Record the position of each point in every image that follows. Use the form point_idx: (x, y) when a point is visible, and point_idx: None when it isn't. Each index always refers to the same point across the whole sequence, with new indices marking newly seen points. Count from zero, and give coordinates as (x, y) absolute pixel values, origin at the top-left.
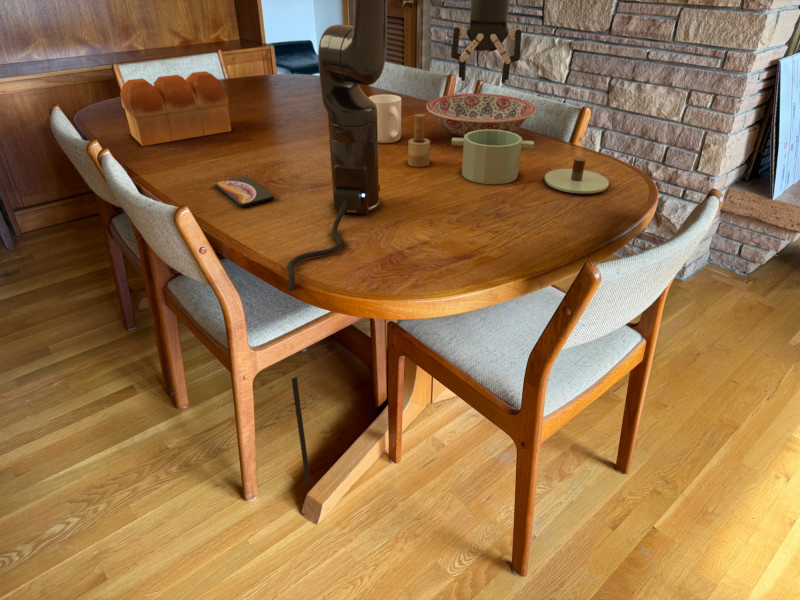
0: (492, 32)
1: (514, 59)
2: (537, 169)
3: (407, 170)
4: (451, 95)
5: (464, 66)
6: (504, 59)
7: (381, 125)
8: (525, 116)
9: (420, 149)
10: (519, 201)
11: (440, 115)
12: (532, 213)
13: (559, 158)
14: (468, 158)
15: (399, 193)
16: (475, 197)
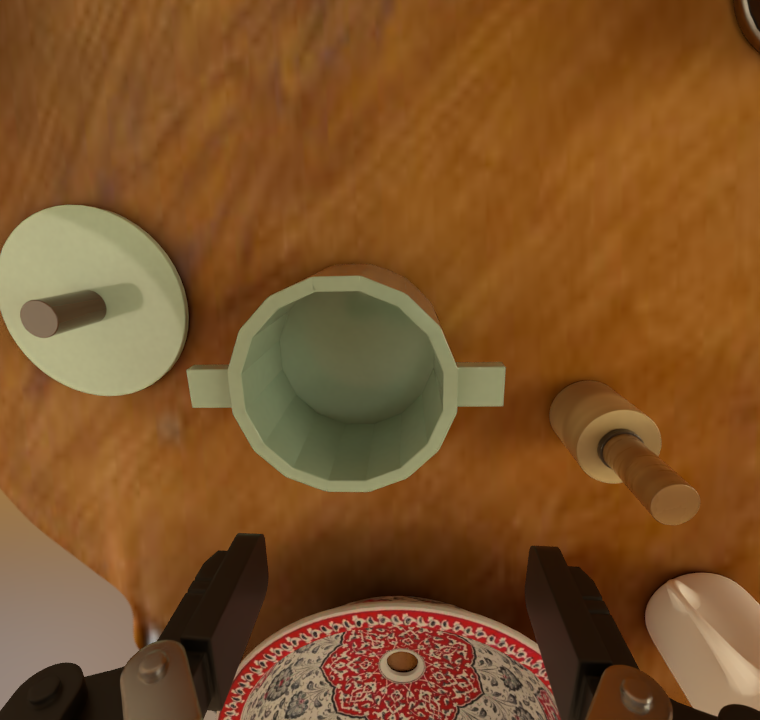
0: None
1: (80, 680)
2: (218, 412)
3: (622, 347)
4: None
5: (575, 631)
6: (182, 683)
7: (749, 617)
8: (242, 665)
9: (605, 403)
10: (253, 126)
11: None
12: (206, 23)
13: (163, 507)
14: (429, 308)
15: (652, 126)
16: (393, 136)
